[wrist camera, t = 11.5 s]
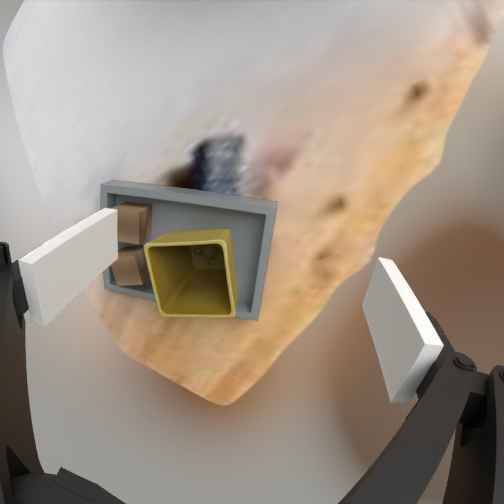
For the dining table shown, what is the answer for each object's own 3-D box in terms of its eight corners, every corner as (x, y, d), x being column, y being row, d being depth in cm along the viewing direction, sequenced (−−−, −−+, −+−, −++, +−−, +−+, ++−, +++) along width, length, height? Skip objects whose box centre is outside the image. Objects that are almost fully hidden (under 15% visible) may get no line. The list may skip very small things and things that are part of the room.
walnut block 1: (125, 201, 39) (110, 208, 35) (152, 204, 39) (139, 212, 35) (125, 229, 40) (110, 239, 37) (151, 234, 40) (138, 244, 37)
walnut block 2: (122, 247, 41) (108, 258, 38) (147, 244, 41) (134, 255, 37) (129, 273, 43) (117, 285, 39) (154, 271, 42) (142, 284, 39)
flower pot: (182, 282, 42) (159, 317, 34) (171, 219, 39) (141, 244, 31) (246, 280, 41) (236, 318, 33) (239, 214, 38) (225, 239, 30)
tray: (112, 180, 39) (100, 184, 36) (277, 201, 38) (276, 207, 35) (114, 279, 44) (104, 289, 42) (259, 308, 43) (257, 320, 40)
